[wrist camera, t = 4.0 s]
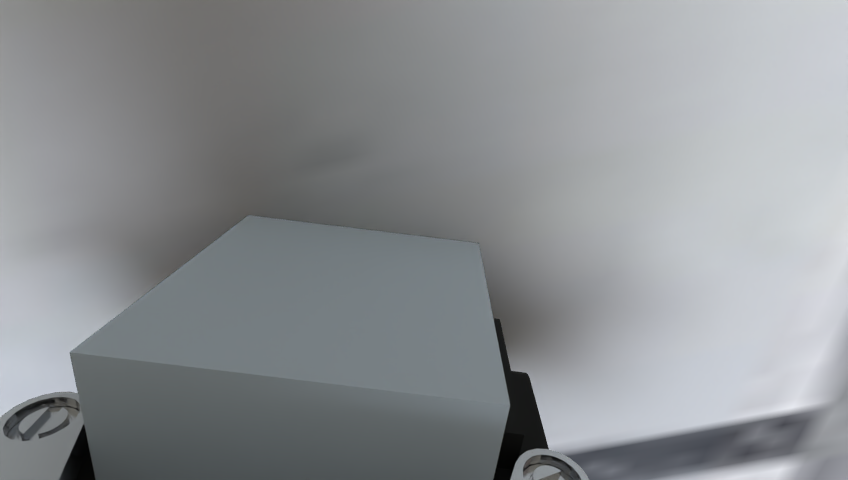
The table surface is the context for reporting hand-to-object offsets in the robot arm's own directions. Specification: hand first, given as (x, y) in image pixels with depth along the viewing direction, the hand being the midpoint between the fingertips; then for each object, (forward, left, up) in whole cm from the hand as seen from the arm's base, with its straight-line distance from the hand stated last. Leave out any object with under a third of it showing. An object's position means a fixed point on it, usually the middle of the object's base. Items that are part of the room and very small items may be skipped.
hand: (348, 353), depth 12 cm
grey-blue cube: (0, 0, -1) cm, 1 cm away
